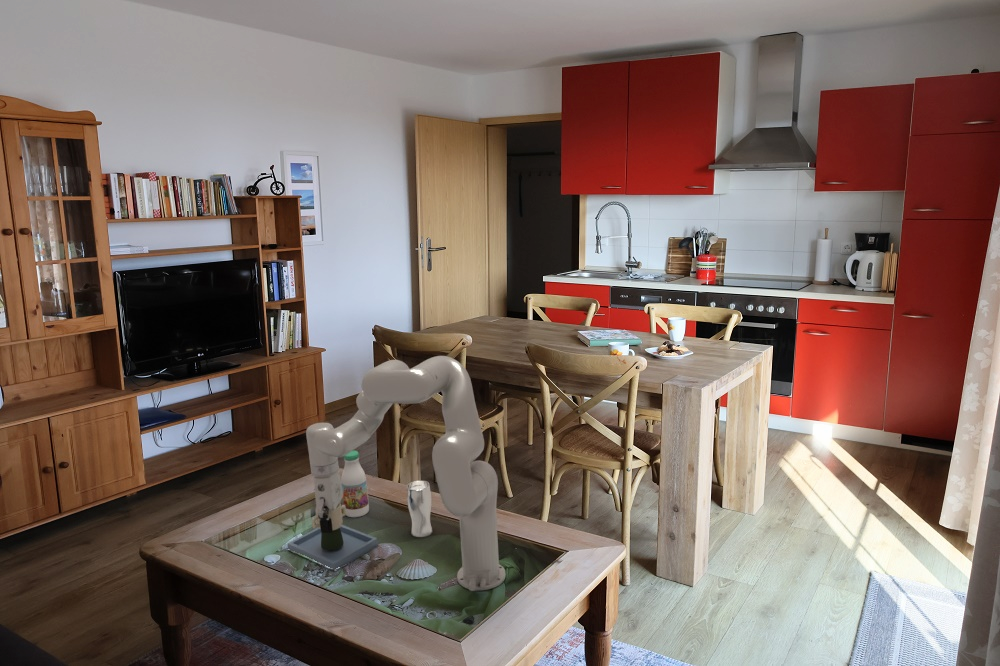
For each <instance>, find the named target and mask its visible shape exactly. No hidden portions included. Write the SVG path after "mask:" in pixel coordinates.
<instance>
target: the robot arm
mask: <svg viewBox="0 0 1000 666" xmlns="http://www.w3.org/2000/svg"><path fill="white" fill-rule="evenodd" d="M360 384H361V391H360V392H359V394H358V395H357V397H356V398H355V399H356V401H355V402H356V407H357V408H358V410H357V412H355V414H354V415H353V416H352V417H351V418H350V419H349V420H348V421H346V422H344V423H343V424H341V425H339V426H337V427H334V426H333V424H331V423H329V422H316V423H313V424H311V425H308V426H307V428H306V431H305V432H306V433H305V435H306V437H305V438H306V441H307V442H306V443H307V444H306V445H307V450H308V451H307V452H308V455H309V456H308V457H309V458H308V459H309V464H310V465H309V466H310V472H311V473H310V474H311V476H312V477H313V478H314V479H313V480H314V494H315V495H314V497H315V502H316V503H315V504H316V505H317V513H318V518H319V521H320V528H321V533H331V532H332V531H333V528H332V521H331V518H330V511H331V510H335V509H336V507H337V506H338V504H339V503H341V506H342V505H343V503H342V501H343V490H342V484H341V474H340V467H339V458H342V457H343V458H344V456H345V455H347V454H348V453H350V452H351V451H355V449H357V448H359V447H360V446H362V445H363V444H364V443H366V442H368V440H369V439H370V438H371V437H372V435H374V433H375V432H376V430H377V429H378V428H379V427H380V425H381V424H382V422H383V420H384V417H385V414H386V413H387V412H388V410H389V409H390V408H391V407H392V406H393V405H394V404H397V405H398V404H420V403H423V402H426V401H428V400H430V399H431V398H432V397H434V396H435V395H437V394H439V393H440V392H441V394H442V399H441V400H442V401H441V411H442V416H443V421H444V426H445V433H444V434H443V435H442V436H440V437H439V439H437V441H436V442H435V444H434V445H433V448H432V452H431V454H432V455H431V457H432V465H433V470H434V474H435V478H436V479H435V480H436V482H437V488H438V491H439V494H440V495H439V496H440V498H441V501H442V504H443V505H444V508H445V509H446V510H447V512H449V513H450V514H451V515H453V516H455V517H459V535H460V536H459V537H460V549H461V563H462V566H461V567H460V568H459V570H458V571H457V574H456V580H457V582H458V583H459V585H460V586H462V587H463V588H465V589H467V590H469V591H470V592H475V591H488V590H491V589H494V588H496V587H498V586H500V585H501V584H503V582H504V581H505V580H506V569H505V567H504V566H503V565H501V564H500V561H499V542H498V540H499V539H498V521H497V520H498V519H497V518H498V517H497V499H498V491H499V490H498V488H499V481H498V480H499V479H498V475H497V473H496V472H497V471H495V469H494V467H493V466H492V465H491V464H490V463H489V462H486V461H484V460H476V459H477V458H478V457H479V456H480V455H481V454H482V453H483V451H484V448H485V439H484V434H483V429H482V426H481V422H480V417H479V413H478V409H477V405H476V401H475V395H474V390H473V385H472V381H471V378H470V375H469V373H468V370H467V369H466V368H465V367H464V365H463V364H462V363H461V362H459V361H458V360H456V359H455V358H453V357H450V356H448V355H447V356H446V355H437V356H436V355H435V356H433V357H430V358H427V359H426V360H424V361H422V362H420V363H419V364H417V365H415V366H413V367H411V368H410V367H409V366H408V364H406V363H405V362H404V361H403V360H399V359H390V360H387V361H385V362H382V363H381V364H380V363H379V364H378V365H377V366H374V367H373V368H370V369H369V370H368V371H367V372H366V373H365V374H364V376H362V379H361V383H360ZM316 505H315V506H316ZM324 507H328V508H324ZM341 510H342V509H341ZM324 511H327V515H326V514H325V513H324ZM342 513H343V510H342Z"/></svg>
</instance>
